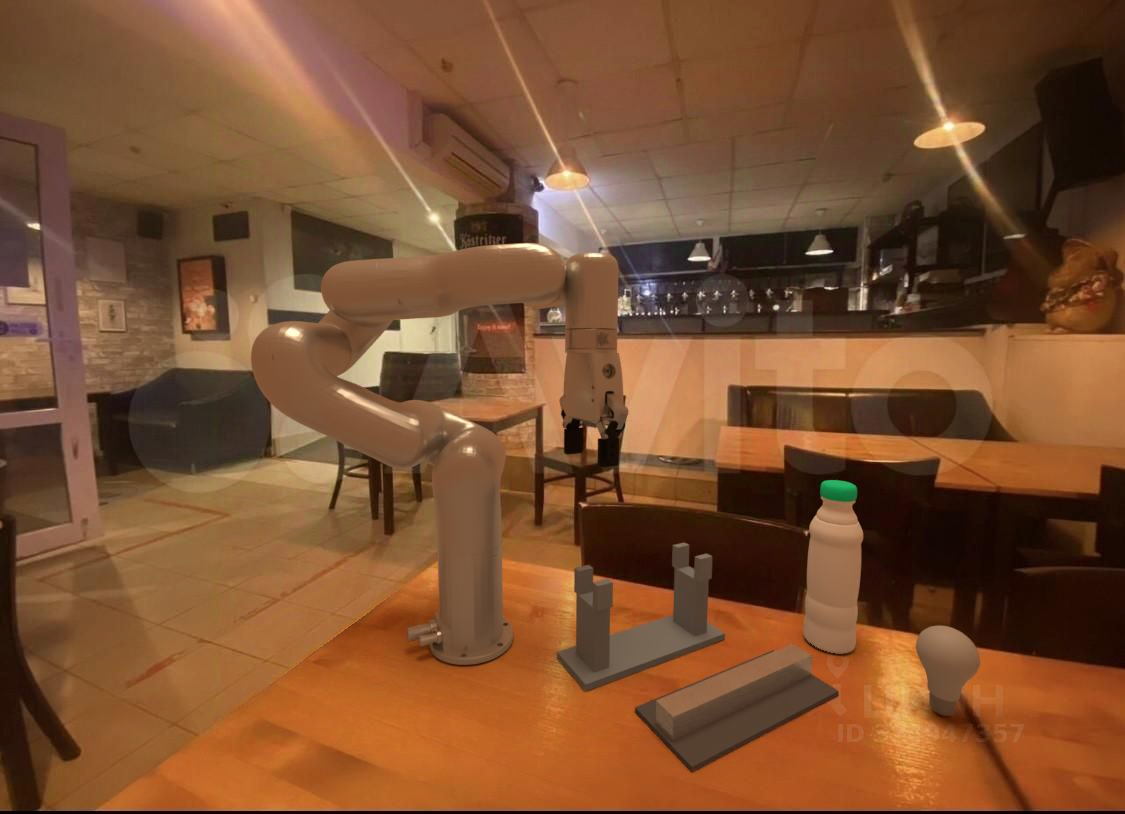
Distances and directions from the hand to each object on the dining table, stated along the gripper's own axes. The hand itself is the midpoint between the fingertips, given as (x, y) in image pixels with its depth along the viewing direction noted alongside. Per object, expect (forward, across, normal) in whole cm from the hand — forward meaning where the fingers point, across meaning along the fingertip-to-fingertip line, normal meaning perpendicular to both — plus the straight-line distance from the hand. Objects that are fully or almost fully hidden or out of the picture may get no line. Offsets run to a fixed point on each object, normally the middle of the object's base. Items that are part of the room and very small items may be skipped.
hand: (589, 459), depth 73 cm
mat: (+28, -21, -10) cm, 36 cm away
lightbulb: (+28, -34, -30) cm, 53 cm away
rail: (+28, -21, -10) cm, 36 cm away
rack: (+28, -6, -6) cm, 29 cm away
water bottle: (+28, -18, -32) cm, 46 cm away
